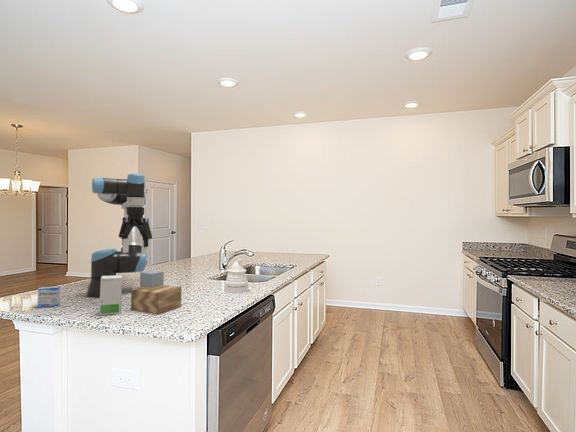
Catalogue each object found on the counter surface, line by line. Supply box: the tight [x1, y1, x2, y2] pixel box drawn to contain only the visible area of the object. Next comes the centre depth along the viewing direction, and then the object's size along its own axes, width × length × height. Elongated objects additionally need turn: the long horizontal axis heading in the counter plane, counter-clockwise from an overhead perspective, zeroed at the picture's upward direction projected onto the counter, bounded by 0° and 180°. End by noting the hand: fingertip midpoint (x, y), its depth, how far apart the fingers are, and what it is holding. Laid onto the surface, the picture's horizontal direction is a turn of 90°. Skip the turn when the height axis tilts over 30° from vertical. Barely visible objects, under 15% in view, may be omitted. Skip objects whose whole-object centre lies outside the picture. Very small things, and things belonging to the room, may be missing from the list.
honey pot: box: [224, 258, 249, 295], centre depth 190 cm, size 13×13×18 cm
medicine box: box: [37, 285, 61, 309], centre depth 153 cm, size 8×4×9 cm, turn 118°
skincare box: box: [98, 275, 123, 316], centre depth 145 cm, size 8×7×16 cm
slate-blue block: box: [139, 270, 165, 290], centre depth 155 cm, size 7×7×7 cm
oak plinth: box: [130, 284, 182, 315], centre depth 154 cm, size 16×14×9 cm
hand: (134, 253), depth 159 cm, fingers open, 11 cm apart
